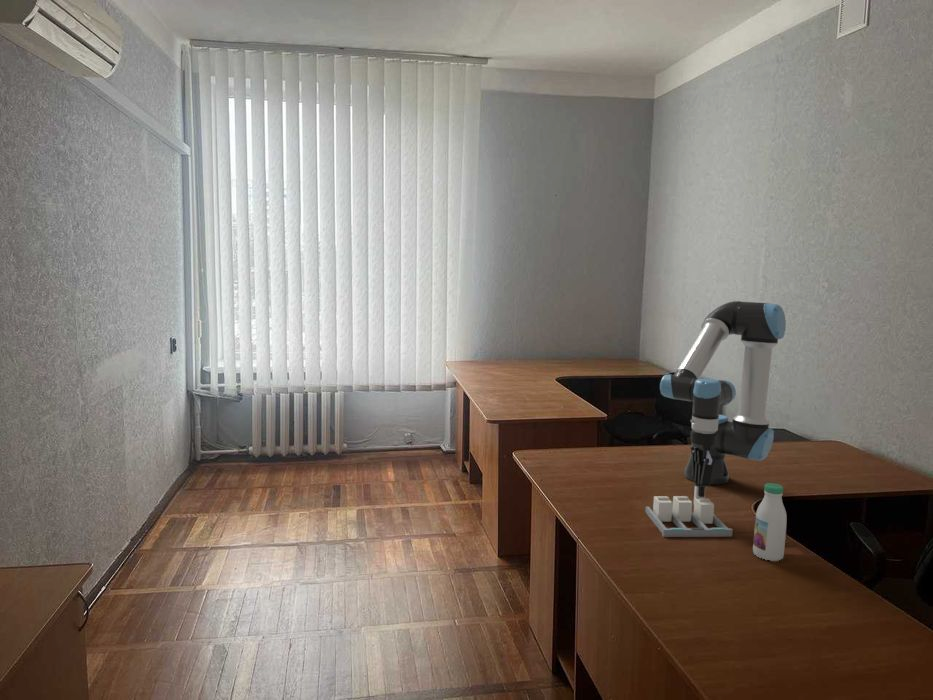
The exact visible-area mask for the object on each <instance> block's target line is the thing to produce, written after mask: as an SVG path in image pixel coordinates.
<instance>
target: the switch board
mask: <svg viewBox="0 0 933 700" xmlns="http://www.w3.org/2000/svg"><path fill="white" fill-rule="evenodd" d="M645 513H646V514H647V516H648V518H650V520H651V521H652V523H653V524H654V525H655V526H656V527H657V529H658V530H659V531H660V533H661V536H662V538H672V537H673V538H678V537H679V538H686V537H687V538H690V537H691V538H692V537H693V538H697V537H698V538H700V537H703V538H705V537H706V538H707V537H710V538H711V537H713V538H715V537H719V538H720V537H725V538H726V537H733V534H734V533H733V530H734V529H733V528H732V527H731V528H730V527H728V526H727V525H726V524H725V523H724V522H723V521H722V520H721V519H720V518H719V517H717V515H716V514H714V515H713V524H714V525H715V526H716V527H707V525H706V524H703V523H702V522H701V521H700V520H699V518H698V517H697V516H696V515H695V514H694V511H692V513H691V521H690V522H692V523H693V524H694V525H695V526H696V527H690V528H689V527H687V525H685V524H684V523H683V522H681V521H680V520H679V518H678V517H677V516H676V515H675V514H674V513H673V512H672V517H671V522H673V524H674V525H675V526H676V527H669V528H668V527H666V526H665V524H663V522H661V521H660V520H659V518H658V517H657V516H656V515H655V513H654V512H653V509H652V508H651V507H650V506H645Z"/></svg>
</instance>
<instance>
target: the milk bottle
mask: <svg viewBox="0 0 933 700" xmlns="http://www.w3.org/2000/svg"><path fill="white" fill-rule="evenodd" d="M783 492H784V486H783V485H781V484H779V483H774V482H768V483H767V482H766V483H765V484H764V497H763V498H762V501H761V502H759V505H758V506H757V509H756V512H755V520H754V529H753V531H754V533H753V545H752V552H753V555H754V556H755V555H756V556H755V557H756V558H758V557H759V559H761V558H762V560H763V559H765V560H764V561H767V560H770V561H769V562H779V560H780V561H782V560H783V559H784V555H785V546H786V544H785V543H786V535H787V520H788V519H787V518H788V517H787V511H786V508H785V506H784V503H783V498H782V496H783V495H784V494H783ZM781 559H782V560H781Z"/></svg>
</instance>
